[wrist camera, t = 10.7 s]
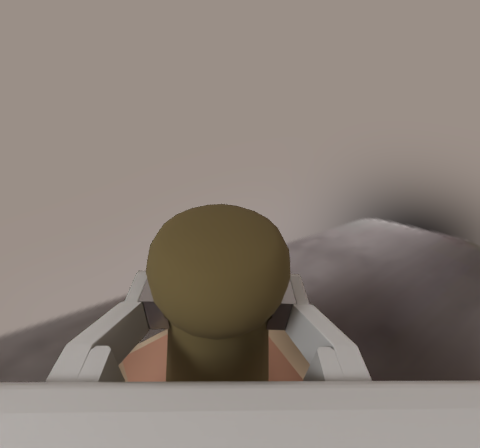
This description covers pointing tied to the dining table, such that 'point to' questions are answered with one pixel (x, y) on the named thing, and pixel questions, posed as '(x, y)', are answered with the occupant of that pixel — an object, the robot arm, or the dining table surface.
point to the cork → (218, 291)
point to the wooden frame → (155, 359)
